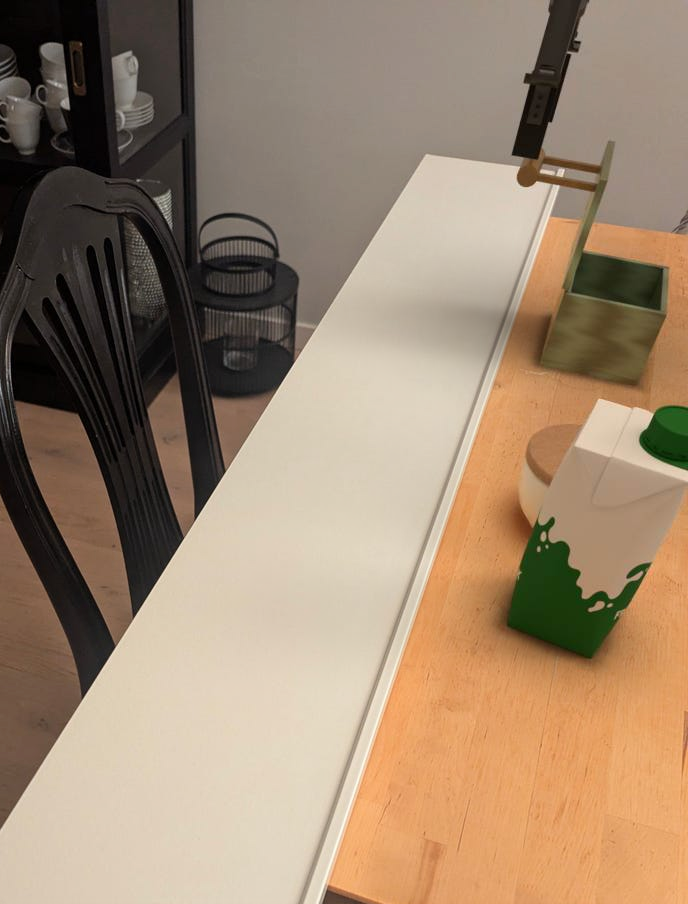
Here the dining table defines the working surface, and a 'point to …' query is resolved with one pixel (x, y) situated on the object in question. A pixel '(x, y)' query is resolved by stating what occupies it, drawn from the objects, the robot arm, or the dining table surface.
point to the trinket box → (543, 465)
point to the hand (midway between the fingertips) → (532, 137)
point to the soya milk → (601, 524)
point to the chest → (608, 318)
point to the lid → (531, 174)
